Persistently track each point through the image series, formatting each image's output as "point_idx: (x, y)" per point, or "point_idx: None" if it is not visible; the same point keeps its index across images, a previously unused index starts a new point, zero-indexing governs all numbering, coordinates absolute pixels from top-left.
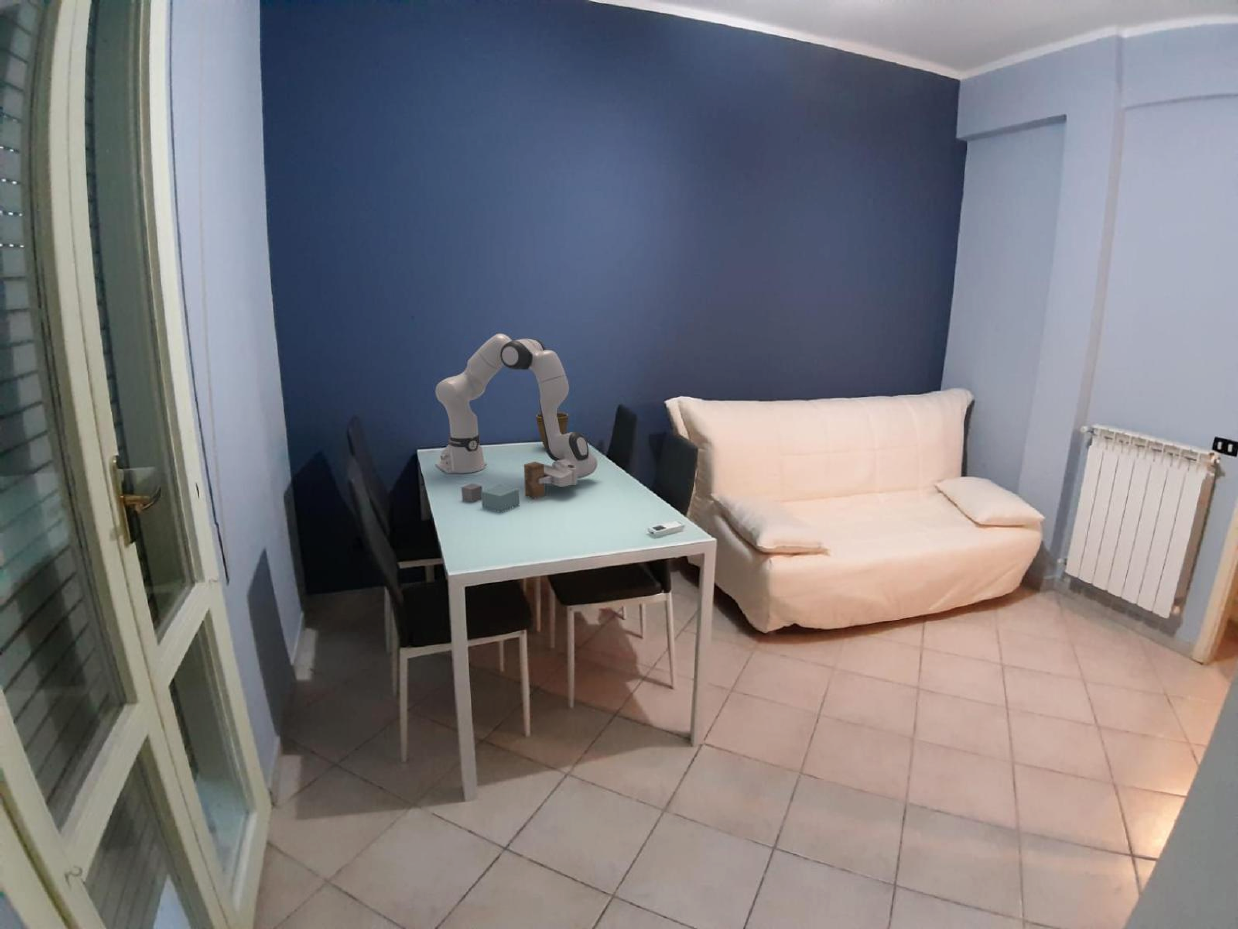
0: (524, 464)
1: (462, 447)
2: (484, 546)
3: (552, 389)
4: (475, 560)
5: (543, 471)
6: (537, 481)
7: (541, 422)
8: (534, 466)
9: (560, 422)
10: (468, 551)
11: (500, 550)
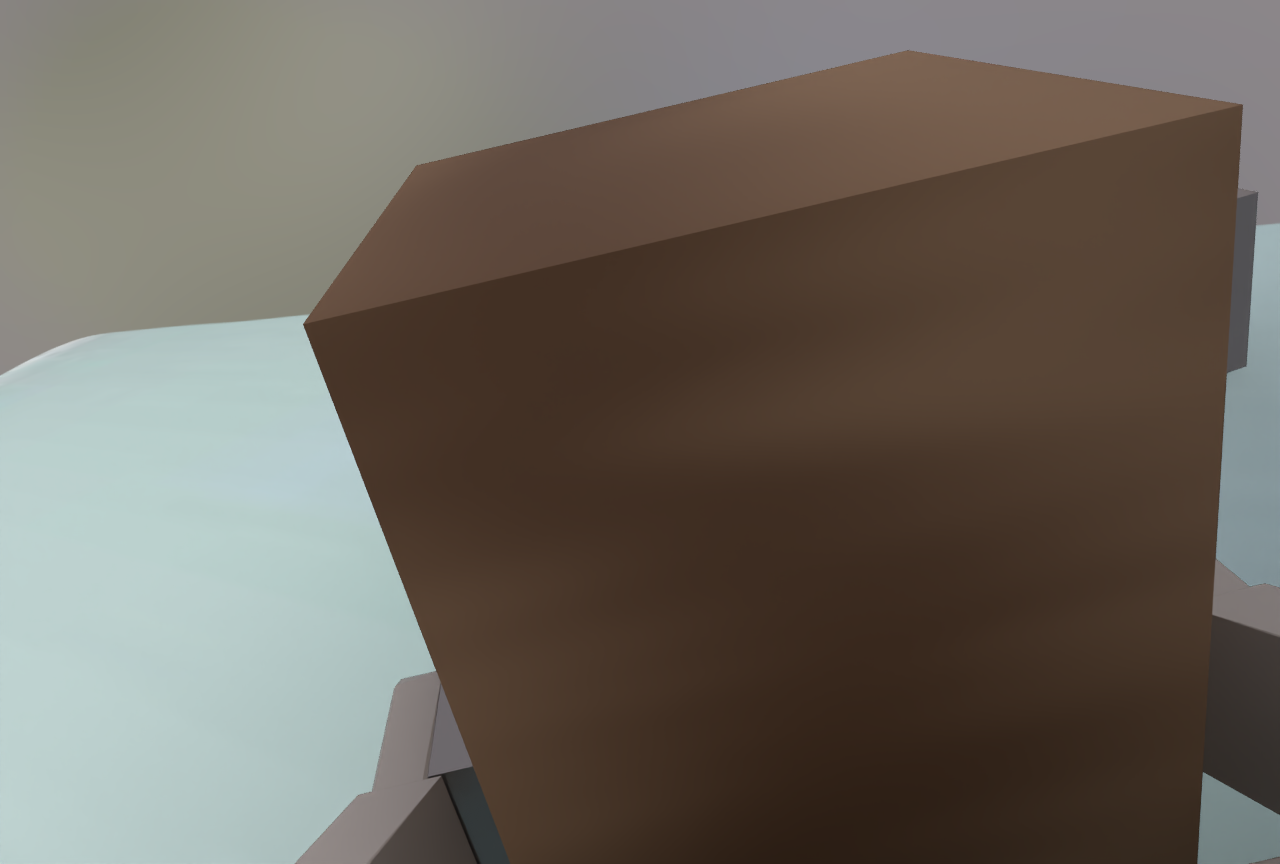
0: (882, 57)
1: None
2: (136, 392)
3: None
4: (76, 369)
5: (459, 688)
6: None
7: None
8: (415, 177)
9: None
10: (178, 354)
11: (8, 431)
